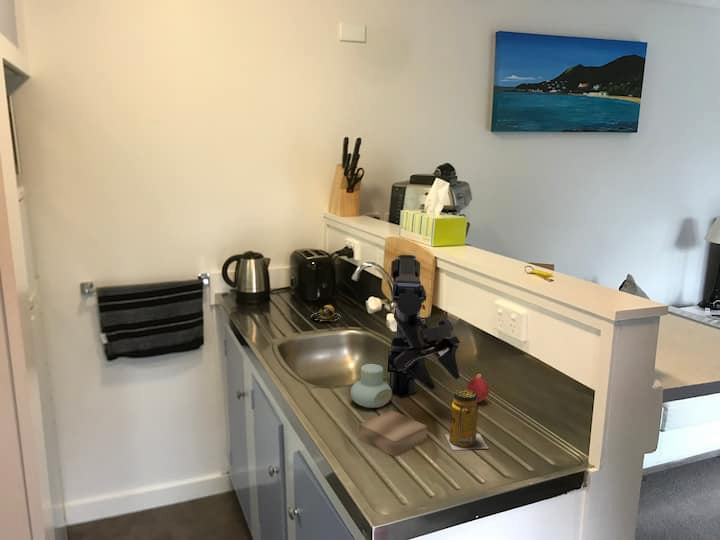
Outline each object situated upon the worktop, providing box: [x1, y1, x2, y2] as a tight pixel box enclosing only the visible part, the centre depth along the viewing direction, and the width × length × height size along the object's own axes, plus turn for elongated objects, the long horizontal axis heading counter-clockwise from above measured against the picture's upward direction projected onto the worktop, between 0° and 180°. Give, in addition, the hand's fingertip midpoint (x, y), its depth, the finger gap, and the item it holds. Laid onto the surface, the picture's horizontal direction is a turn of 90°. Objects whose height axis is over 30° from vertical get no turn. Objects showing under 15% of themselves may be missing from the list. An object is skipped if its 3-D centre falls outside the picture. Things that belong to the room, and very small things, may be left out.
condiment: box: [444, 389, 489, 451], centre depth 134 cm, size 7×8×12 cm
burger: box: [310, 302, 342, 323], centre depth 227 cm, size 12×12×8 cm
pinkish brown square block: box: [358, 409, 428, 458], centre depth 135 cm, size 11×11×4 cm
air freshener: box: [350, 363, 393, 409], centre depth 153 cm, size 11×8×10 cm
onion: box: [465, 373, 490, 404], centre depth 156 cm, size 6×6×8 cm
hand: (446, 383), depth 137 cm, fingers open, 9 cm apart
